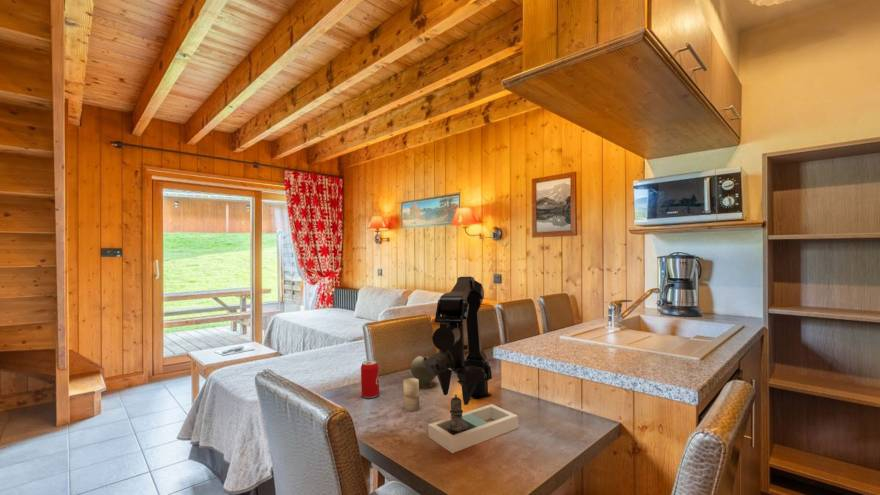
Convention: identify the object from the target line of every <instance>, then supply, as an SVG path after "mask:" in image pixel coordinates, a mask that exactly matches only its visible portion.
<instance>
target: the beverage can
mask: <svg viewBox="0 0 880 495" xmlns="http://www.w3.org/2000/svg"><path fill="white" fill-rule="evenodd" d="M379 370H380V369H379V364H378V362H377V361H376V360H372V359H371V360H365V361H363V362H362V363H361V366H360V384H361V385H360V386H361V387H360V388H361V396H362V397H363V398H365V399H373V398H376V397H378V396H379V395H380V378H379V376H380V374H379Z"/></svg>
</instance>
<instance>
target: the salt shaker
mask: <svg viewBox="0 0 880 495" xmlns="http://www.w3.org/2000/svg"><path fill="white" fill-rule="evenodd" d="M462 408H463V407H462V399H461V398H460V397H458V395H457V394H455V395H454V397H451V399H450V410H449V414H450V417H451V422H449V423H447V425H446V428H447V430H448V433H450V434H452V435H456V434H459V433H461V432H464V431H466V430H467V427H468V425H467V423H465V422H463V420H462V413H464V410H463V409H462Z"/></svg>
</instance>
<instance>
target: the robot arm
mask: <svg viewBox="0 0 880 495" xmlns="http://www.w3.org/2000/svg"><path fill="white" fill-rule="evenodd" d="M456 279H457V280H456V283H455V284H454V286H453V288H452V289H451V291H450V292H445V293H443V294H441V296H439V299H438V300H437V304H436V310H435V317H434V323H435V324H437V323H439V327H438V328H436V330H435V331H434V332H433V334H432V337H431V338H432V343H433V345H434V346H435V348H437V349H438V352H437V353H434V354H433V355H432V356H429V357H430V358H428V359H426V360H425V361H424V363H425V366H426V369H427V372H428V373H431V374H433V375H434V376H436V377H437V380H438V383H439V384H440V388H441V391H442V395H443V396H447V395H448V393H449V392H450V391H449V390H450V384H451V378H452V372H453V373H454V372H457V374H456V375H457V378H458V379H457V383H458V384H459V385H460V386H461V393H462V402H463V405H464V406H467V405H469V402H470V401H471V398H472V399H474V400H477V401H478V400H482V399H485V398H488V397H491V396H492V394H491V393H489V382H488V381H489V379H490V380H492V377H493V376H492V367H491V366H490V364H489V362H488V357H487V354H486V353H485V352H484V350H483V349H482V338H481V335H482V334H481V324H480V323H481V322H480V311H479V310H480V308H481V306H482V304H483V300H484V299H485V289H484V286H483V284H482V283H480V282H479V281H477V280H476V279H475V277H474V276H473V277H472V276H458V277H457V278H456ZM465 321H466V322H465ZM464 323H466V333H467V344H465V326H464ZM465 350H468V353H467V354H466V353H465V352H466V351H465ZM465 354H466V356H465ZM457 368H458V369H457Z"/></svg>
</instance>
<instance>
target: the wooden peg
mask: <svg viewBox="0 0 880 495" xmlns="http://www.w3.org/2000/svg"><path fill="white" fill-rule="evenodd" d="M402 382H403V383H402V386H403V388H402V389H403V410H404V411H406V412H417V411H418V410H420V387H419V380H418V379H416V378H415V377H410V378H405V379H403V381H402Z"/></svg>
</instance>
